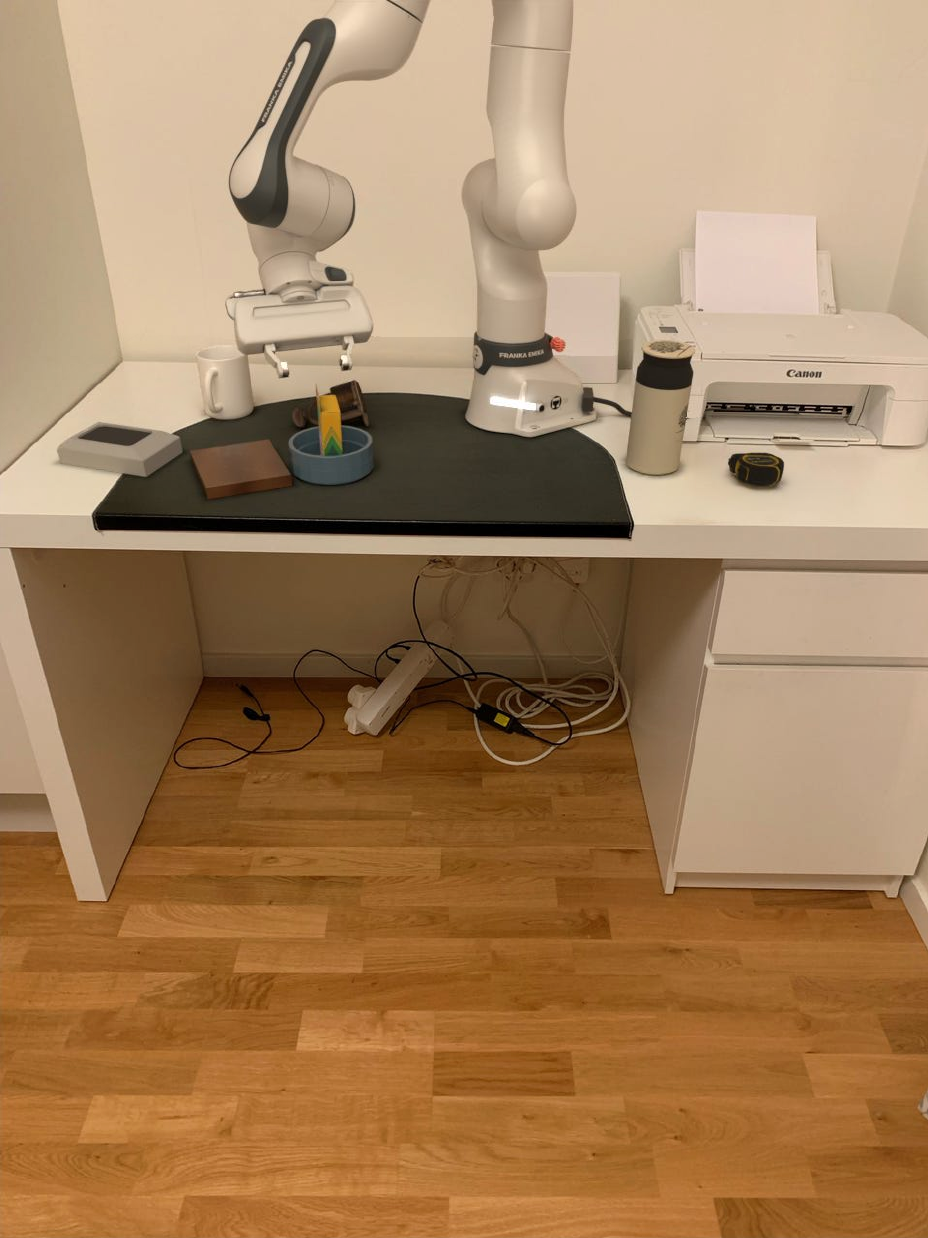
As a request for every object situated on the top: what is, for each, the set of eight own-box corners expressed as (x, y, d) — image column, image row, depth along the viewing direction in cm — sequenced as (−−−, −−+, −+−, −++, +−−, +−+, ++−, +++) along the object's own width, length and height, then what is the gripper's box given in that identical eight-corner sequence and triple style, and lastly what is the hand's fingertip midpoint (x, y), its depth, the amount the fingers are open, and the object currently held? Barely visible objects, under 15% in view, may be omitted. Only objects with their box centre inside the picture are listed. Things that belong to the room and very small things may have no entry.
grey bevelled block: (141, 453, 126) (54, 440, 129) (146, 476, 128) (60, 463, 131) (178, 429, 133) (95, 417, 137) (182, 452, 135) (100, 439, 139)
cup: (261, 404, 153) (254, 346, 147) (236, 429, 143) (228, 368, 137) (216, 401, 154) (207, 343, 148) (188, 426, 144) (178, 365, 138)
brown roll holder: (360, 407, 137) (378, 373, 144) (283, 393, 139) (304, 360, 145) (361, 444, 143) (379, 411, 149) (287, 430, 144) (307, 398, 151)
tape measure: (769, 471, 132) (774, 448, 130) (787, 491, 126) (793, 467, 124) (725, 472, 131) (730, 449, 129) (741, 492, 126) (746, 468, 124)
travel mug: (615, 466, 133) (629, 347, 123) (642, 450, 138) (657, 335, 128) (662, 481, 129) (680, 359, 118) (687, 464, 134) (707, 346, 124)
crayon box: (345, 475, 128) (339, 398, 121) (324, 477, 127) (318, 400, 121) (340, 455, 134) (335, 381, 127) (320, 457, 133) (314, 382, 127)
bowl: (359, 447, 137) (357, 420, 135) (384, 478, 128) (383, 449, 126) (283, 459, 133) (279, 431, 131) (303, 491, 124) (300, 462, 122)
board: (270, 450, 136) (268, 439, 135) (292, 485, 126) (291, 474, 125) (191, 461, 132) (189, 450, 131) (207, 499, 122) (205, 487, 121)
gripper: (223, 280, 123) (245, 369, 121) (362, 269, 130) (385, 354, 128) (221, 305, 129) (243, 390, 127) (354, 293, 135) (377, 374, 133)
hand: (316, 372), depth 127 cm, fingers open, 8 cm apart
